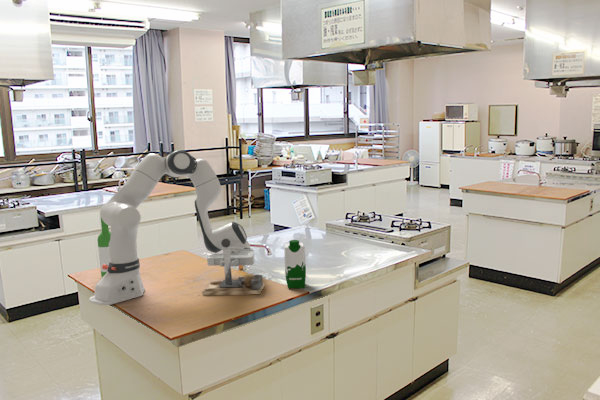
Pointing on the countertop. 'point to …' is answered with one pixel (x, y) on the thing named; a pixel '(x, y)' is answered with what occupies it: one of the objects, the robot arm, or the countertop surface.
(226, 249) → the ball-top joystick lever
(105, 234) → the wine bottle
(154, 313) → the countertop surface
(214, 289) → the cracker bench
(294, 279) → the milk carton
